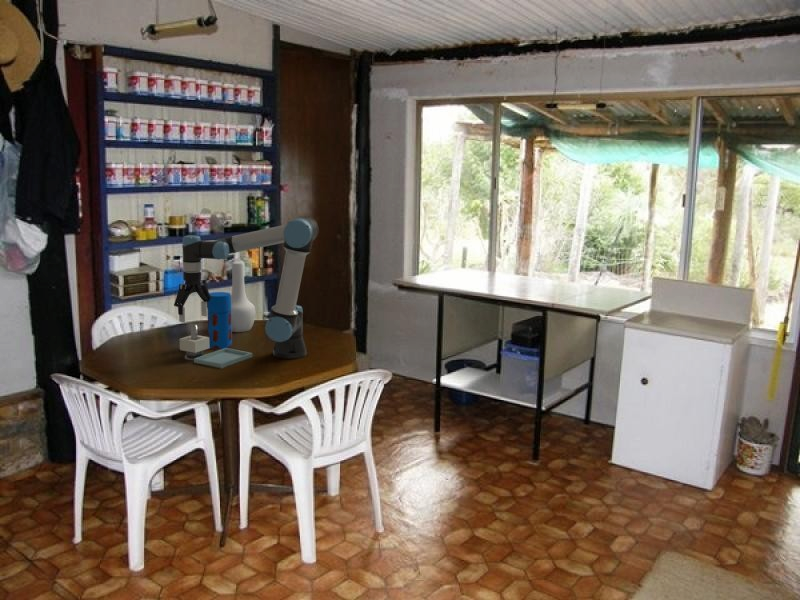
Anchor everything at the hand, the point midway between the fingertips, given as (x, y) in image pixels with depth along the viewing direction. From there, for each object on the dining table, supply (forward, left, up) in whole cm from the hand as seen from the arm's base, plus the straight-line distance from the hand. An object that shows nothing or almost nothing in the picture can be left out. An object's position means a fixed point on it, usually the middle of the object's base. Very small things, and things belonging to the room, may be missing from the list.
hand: (193, 318), depth 313 cm
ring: (0, 0, -14) cm, 14 cm away
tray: (-13, -4, -18) cm, 23 cm away
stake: (0, 0, -18) cm, 18 cm away
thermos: (+4, -21, -18) cm, 28 cm away
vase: (+17, -50, -18) cm, 56 cm away
